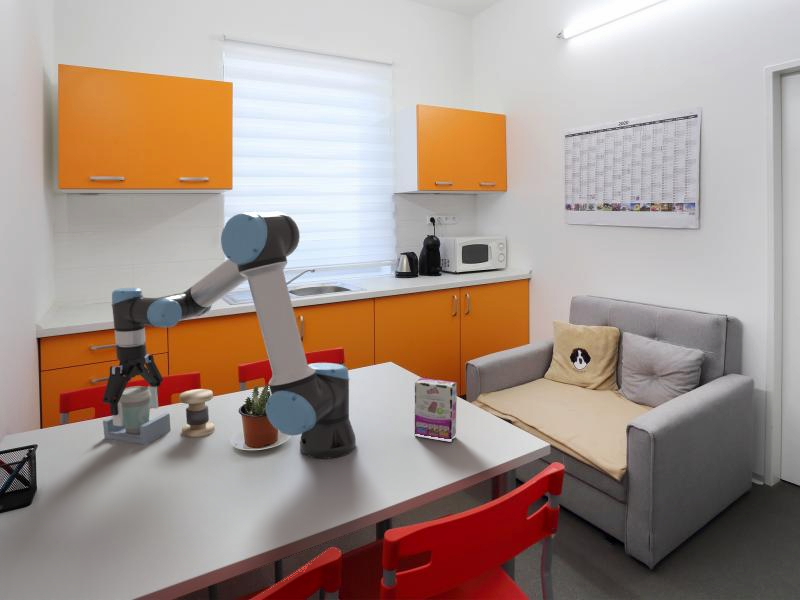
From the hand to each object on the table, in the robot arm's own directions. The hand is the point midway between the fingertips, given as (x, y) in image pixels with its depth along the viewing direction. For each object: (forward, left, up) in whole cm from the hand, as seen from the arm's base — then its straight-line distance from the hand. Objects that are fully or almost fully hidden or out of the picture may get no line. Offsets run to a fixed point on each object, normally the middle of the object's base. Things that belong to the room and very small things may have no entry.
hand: (136, 416), depth 155 cm
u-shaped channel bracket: (0, 0, -5) cm, 5 cm away
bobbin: (-15, -7, -5) cm, 17 cm away
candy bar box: (-82, -24, -6) cm, 85 cm away
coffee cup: (0, 0, -4) cm, 4 cm away
